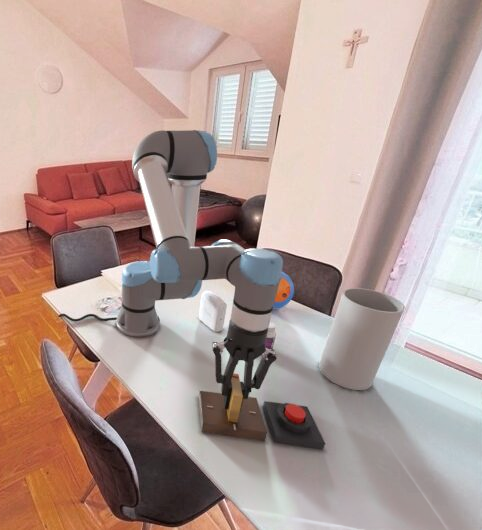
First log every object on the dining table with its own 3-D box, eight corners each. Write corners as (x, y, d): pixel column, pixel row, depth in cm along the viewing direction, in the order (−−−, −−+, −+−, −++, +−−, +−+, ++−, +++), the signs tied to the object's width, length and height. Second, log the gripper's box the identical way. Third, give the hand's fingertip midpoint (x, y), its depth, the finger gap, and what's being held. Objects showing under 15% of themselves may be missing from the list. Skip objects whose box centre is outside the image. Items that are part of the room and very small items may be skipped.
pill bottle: (273, 356, 97) (280, 330, 93) (255, 354, 98) (261, 328, 94) (269, 345, 102) (275, 320, 98) (252, 343, 103) (257, 318, 99)
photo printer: (224, 330, 110) (229, 299, 105) (214, 333, 108) (219, 302, 103) (205, 315, 119) (209, 286, 114) (196, 318, 117) (200, 289, 112)
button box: (274, 443, 70) (278, 430, 69) (262, 407, 79) (265, 395, 78) (322, 450, 69) (327, 437, 67) (305, 412, 78) (309, 401, 76)
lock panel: (201, 434, 72) (203, 425, 71) (197, 397, 83) (199, 388, 81) (265, 444, 70) (268, 434, 69) (253, 404, 80) (256, 395, 79)
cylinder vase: (361, 365, 93) (391, 292, 83) (378, 396, 83) (415, 316, 73) (313, 356, 97) (336, 285, 87) (324, 385, 86) (352, 307, 76)
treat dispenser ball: (283, 298, 130) (291, 265, 124) (294, 318, 116) (304, 282, 110) (243, 294, 133) (250, 261, 127) (250, 313, 120) (257, 277, 114)
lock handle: (237, 422, 72) (243, 395, 69) (228, 421, 72) (233, 394, 69) (233, 399, 78) (238, 373, 75) (225, 397, 78) (230, 372, 75)
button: (287, 422, 71) (289, 416, 71) (282, 408, 75) (283, 402, 74) (306, 424, 71) (308, 419, 70) (300, 410, 74) (301, 405, 74)
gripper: (283, 317, 67) (262, 399, 76) (210, 309, 70) (198, 388, 79) (293, 338, 60) (269, 425, 70) (212, 328, 63) (199, 412, 73)
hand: (231, 405), depth 75 cm, fingers closed on lock handle, 2 cm apart
